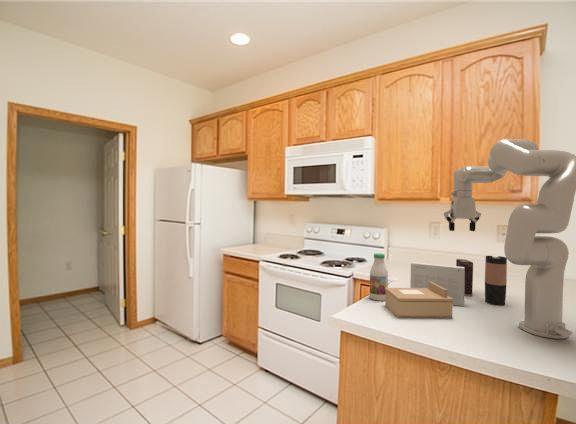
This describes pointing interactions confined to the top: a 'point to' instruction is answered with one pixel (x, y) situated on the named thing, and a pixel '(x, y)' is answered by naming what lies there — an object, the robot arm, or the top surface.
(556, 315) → the robot arm
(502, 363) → the top surface
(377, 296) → the milk bottle
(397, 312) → the mailer box
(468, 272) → the supplement box
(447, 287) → the skincare box
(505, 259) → the travel mug
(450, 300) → the lid
